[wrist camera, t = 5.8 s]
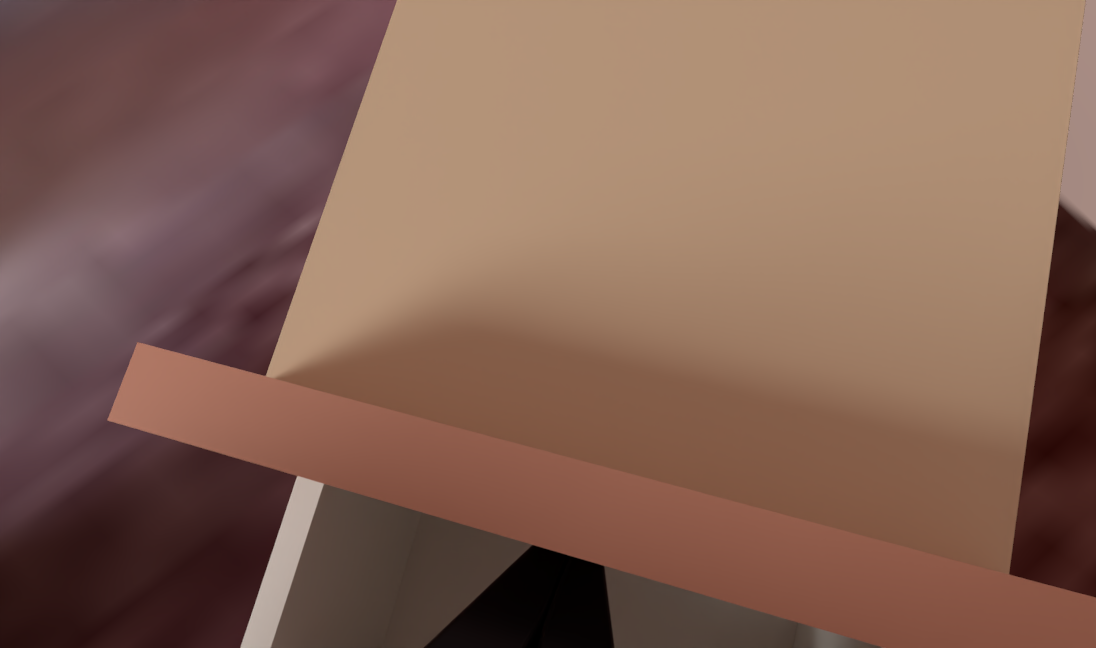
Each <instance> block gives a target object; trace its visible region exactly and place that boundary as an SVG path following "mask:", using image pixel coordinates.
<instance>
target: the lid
mask: <svg viewBox="0 0 1096 648" xmlns="http://www.w3.org/2000/svg"><path fill="white" fill-rule="evenodd" d="M1085 2H1086V0H397V2H396V5H395V8H394V11H393V14H392V17H391V19H390V22H389V25H388V28H387V31H386V34H385V37H384V39H383V42H382V45H381V48H380V51H379V54H378V57H377V59H376V62H375V65H374V68H373V71H372V74H371V77H370V80H369V82H368V85H367V88H366V91H365V94H364V97H363V100H362V102H361V105H360V108H359V111H358V114H357V117H356V120H355V122H354V125H353V128H352V131H351V134H350V137H349V140H348V142H347V145H346V148H345V151H344V154H343V157H342V160H341V162H340V165H339V168H338V171H337V174H336V177H335V180H334V182H333V185H332V188H331V191H330V194H329V197H328V200H327V203H326V205H325V208H324V211H323V214H322V217H321V220H320V223H319V225H318V228H317V231H316V234H315V237H314V240H313V243H312V245H311V248H310V251H309V254H308V257H307V260H306V263H305V265H304V268H303V271H302V274H301V277H300V280H299V283H298V285H297V288H296V291H295V294H294V297H293V300H292V303H291V305H290V308H289V311H288V314H287V317H286V320H285V323H284V326H283V328H282V331H281V334H280V337H279V340H278V343H277V346H276V348H275V351H274V354H273V357H272V360H271V363H270V366H269V368H268V371H267V374H266V376H262V375H259V374H255V373H251V372H247V371H244V370H240V369H236V368H232V367H229V366H225V365H221V364H217V363H214V362H210V361H206V360H202V359H199V358H195V357H191V356H187V355H184V354H180V353H176V352H172V351H168V350H165V349H161V348H157V347H153V346H150V345H146V344H142V343H137V345H136V348H135V351H134V353H133V356H132V358H131V361H130V363H129V366H128V369H127V371H126V374H125V376H124V379H123V381H122V384H121V387H120V389H119V392H118V394H117V397H116V399H115V402H114V405H113V407H112V410H111V412H110V415H109V417H108V421H111V422H115V423H118V424H122V425H125V426H128V427H132V428H135V429H139V430H142V431H146V432H149V433H152V434H156V435H159V436H163V437H166V438H169V439H173V440H176V441H180V442H183V443H187V444H190V445H193V446H197V447H200V448H204V449H207V450H210V451H214V452H217V453H221V454H224V455H228V456H231V457H234V458H238V459H241V460H245V461H248V462H251V463H255V464H258V465H262V466H265V467H269V468H272V469H275V470H279V471H282V472H286V473H289V474H292V475H296V476H299V477H303V478H306V479H310V480H313V481H316V482H320V483H323V484H327V485H330V486H333V487H337V488H340V489H344V490H347V491H350V492H354V493H357V494H361V495H364V496H368V497H371V498H374V499H378V500H381V501H385V502H388V503H391V504H395V505H398V506H402V507H405V508H409V509H412V510H415V511H419V512H422V513H426V514H429V515H432V516H436V517H439V518H443V519H446V520H450V521H453V522H456V523H460V524H463V525H467V526H470V527H473V528H477V529H480V530H484V531H487V532H491V533H494V534H497V535H501V536H504V537H508V538H511V539H514V540H518V541H521V542H525V543H528V544H532V545H535V546H538V547H542V548H545V549H549V550H552V551H555V552H559V553H562V554H566V555H569V556H572V557H576V558H579V559H583V560H586V561H590V562H593V563H596V564H600V565H603V566H607V567H610V568H613V569H617V570H620V571H624V572H627V573H631V574H634V575H637V576H641V577H644V578H648V579H651V580H654V581H658V582H661V583H665V584H668V585H672V586H675V587H678V588H682V589H685V590H689V591H692V592H695V593H699V594H702V595H706V596H709V597H713V598H716V599H719V600H723V601H726V602H730V603H733V604H736V605H740V606H743V607H747V608H750V609H754V610H757V611H760V612H764V613H767V614H771V615H774V616H777V617H781V618H784V619H788V620H791V621H795V622H798V623H801V624H805V625H808V626H812V627H815V628H818V629H822V630H825V631H829V632H832V633H835V634H839V635H842V636H846V637H849V638H853V639H856V640H859V641H863V642H866V643H870V644H873V645H876V646H880V647H883V648H1096V598H1095V597H1092V596H1088V595H1084V594H1080V593H1077V592H1073V591H1069V590H1065V589H1062V588H1058V587H1054V586H1050V585H1046V584H1043V583H1039V582H1035V581H1031V580H1028V579H1024V578H1020V577H1016V576H1013V575H1009V571H1010V563H1011V556H1012V548H1013V541H1014V533H1015V526H1016V518H1017V511H1018V503H1019V496H1020V488H1021V481H1022V473H1023V466H1024V459H1025V451H1026V444H1027V436H1028V429H1029V421H1030V414H1031V406H1032V399H1033V391H1034V384H1035V376H1036V369H1037V361H1038V354H1039V346H1040V339H1041V331H1042V324H1043V316H1044V309H1045V302H1046V294H1047V287H1048V279H1049V272H1050V264H1051V257H1052V249H1053V242H1054V234H1055V227H1056V219H1057V212H1058V204H1059V197H1060V189H1061V182H1062V174H1063V167H1064V159H1065V151H1066V145H1067V137H1068V130H1069V122H1070V115H1071V107H1072V99H1073V92H1074V84H1075V77H1076V70H1077V62H1078V55H1079V46H1080V40H1081V32H1082V25H1083V17H1084V10H1085Z"/></svg>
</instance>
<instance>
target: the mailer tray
mask: <svg viewBox="0 0 1096 648" xmlns="http://www.w3.org/2000/svg"><path fill="white" fill-rule="evenodd" d="M531 545H532V544H528V543H525V542H521V541H518V540H514V539H511V538H508V537H504V536H501V535H497V534H494V533H491V532H487V531H484V530H480V529H477V528H473V527H470V526H467V525H463V524H460V523H456V522H453V521H450V520H446V519H443V518H439V517H436V516H432V515H429V514H426V513H422V512H419V511H415V510H412V509H409V508H405V507H402V506H398V505H395V504H391V503H388V502H385V501H381V500H378V499H374V498H371V497H368V496H364V495H361V494H357V493H354V492H350V491H347V490H344V489H340V488H337V487H333V486H330V485H327V484H323V483H320V482H316V481H313V480H310V479H306V478H303V477H299V476H297V478H296V481H295V484H294V487H293V490H292V493H291V497H290V500H289V503H288V506H287V509H286V512H285V515H284V518H283V521H282V524H281V527H280V530H279V533H278V536H277V539H276V542H275V545H274V548H273V551H272V554H271V557H270V560H269V563H268V566H267V569H266V572H265V575H264V578H263V581H262V584H261V587H260V590H259V593H258V596H257V599H256V602H255V605H254V608H253V611H252V614H251V617H250V620H249V623H248V626H247V629H246V632H245V635H244V638H243V641H242V644H241V647H240V648H424V647H425V646H426V645H427V644H428V643H429V642H430V641H431V640H432V639H433V638H434V637H435V636H436V635H437V634H438V633H439V632H440V631H441V630H443V629H444V628H445V627H446V626H447V625H448V624H449V623H450V622H451V621H452V620H453V619H454V618H455V617H456V616H457V615H458V614H459V613H461V612H462V611H463V610H464V609H465V608H466V607H467V606H468V605H469V604H470V603H471V602H472V601H473V600H474V599H475V598H476V597H477V596H479V595H480V594H481V593H482V592H483V591H484V590H485V589H486V588H487V587H488V586H489V585H490V584H491V583H492V582H493V581H494V580H495V579H497V578H498V577H499V576H500V575H501V574H502V573H503V572H504V571H505V570H506V569H507V568H508V567H509V566H510V565H511V564H512V563H513V562H515V561H516V560H517V559H518V558H519V557H520V556H521V555H522V554H523V553H524V552H525V551H526V550H527V549H528V548H529V547H530V546H531ZM604 567H605V575H606V583H607V591H608V599H609V607H610V614H611V622H612V630H613V638H614V646H615V648H883V647H880V646H876V645H873V644H870V643H866V642H863V641H859V640H856V639H853V638H849V637H846V636H842V635H839V634H835V633H832V632H829V631H825V630H822V629H818V628H815V627H812V626H808V625H805V624H801V623H798V622H795V621H791V620H788V619H784V618H781V617H777V616H774V615H771V614H767V613H764V612H760V611H757V610H754V609H750V608H747V607H743V606H740V605H736V604H733V603H730V602H726V601H723V600H719V599H716V598H713V597H709V596H706V595H702V594H699V593H695V592H692V591H689V590H685V589H682V588H678V587H675V586H672V585H668V584H665V583H661V582H658V581H654V580H651V579H648V578H644V577H641V576H637V575H634V574H631V573H627V572H624V571H620V570H617V569H613V568H610V567H607V566H604Z"/></svg>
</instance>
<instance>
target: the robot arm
mask: <svg viewBox="0 0 1096 648" xmlns="http://www.w3.org/2000/svg"><path fill="white" fill-rule="evenodd" d="M424 648H615V646H614V638H613V630H612V622H611V614H610V607H609V599H608V591H607V583H606V575H605V567H604V566H603V565H600V564H596V563H593V562H590V561H586V560H583V559H579V558H576V557H572V556H569V555H566V554H562V553H559V552H555V551H552V550H549V549H545V548H542V547H538V546H535V545H531V546H530V547H529V548H528V549H527V550H526V551H525V552H524V553H523V554H522V555H521V556H520V557H519V558H518V559H517V560H516V561H515V562H513V563H512V564H511V565H510V566H509V567H508V568H507V569H506V570H505V571H504V572H503V573H502V574H501V575H500V576H499V577H498V578H497V579H495V580H494V581H493V582H492V583H491V584H490V585H489V586H488V587H487V588H486V589H485V590H484V591H483V592H482V593H481V594H480V595H479V596H477V597H476V598H475V599H474V600H473V601H472V602H471V603H470V604H469V605H468V606H467V607H466V608H465V609H464V610H463V611H462V612H461V613H459V614H458V615H457V616H456V617H455V618H454V619H453V620H452V621H451V622H450V623H449V624H448V625H447V626H446V627H445V628H444V629H443V630H441V631H440V632H439V633H438V634H437V635H436V636H435V637H434V638H433V639H432V640H431V641H430V642H429V643H428V644H427V645H426V646H425V647H424Z"/></svg>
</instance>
